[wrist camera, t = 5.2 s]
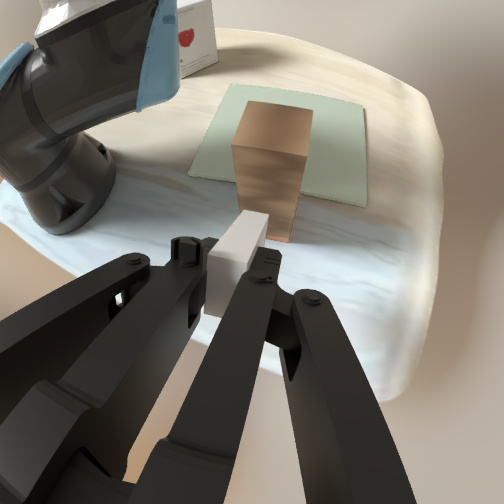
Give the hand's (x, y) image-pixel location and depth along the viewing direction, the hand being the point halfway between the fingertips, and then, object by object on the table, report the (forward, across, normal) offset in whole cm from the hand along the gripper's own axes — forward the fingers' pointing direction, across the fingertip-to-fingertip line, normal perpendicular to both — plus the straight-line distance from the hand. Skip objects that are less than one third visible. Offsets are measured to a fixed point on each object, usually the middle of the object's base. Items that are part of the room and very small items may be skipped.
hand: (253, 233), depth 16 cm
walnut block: (+15, 0, -3) cm, 15 cm away
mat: (+24, 0, +7) cm, 25 cm away
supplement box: (+37, -22, +19) cm, 47 cm away
